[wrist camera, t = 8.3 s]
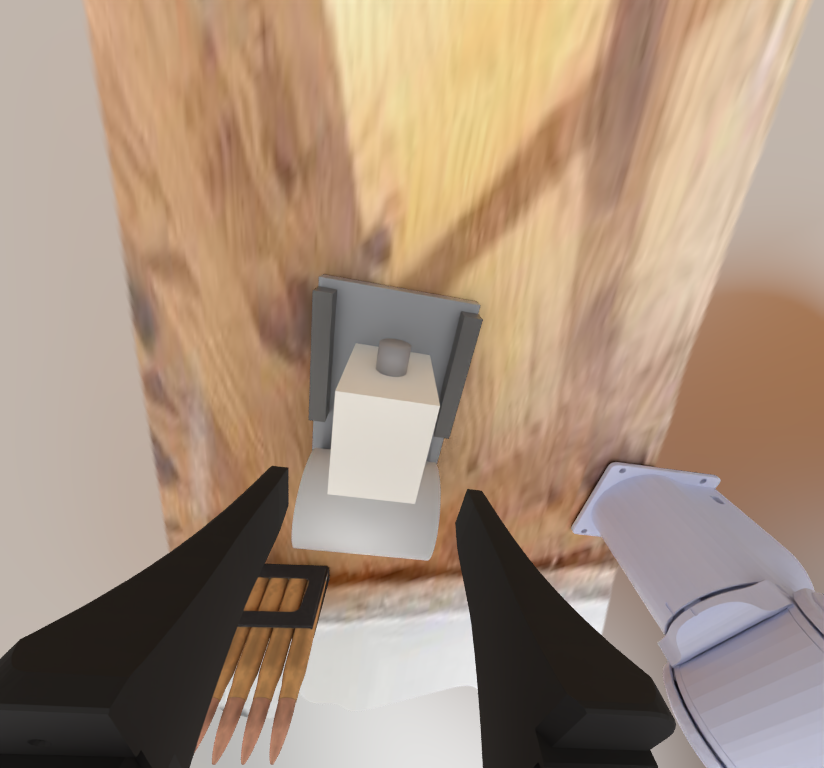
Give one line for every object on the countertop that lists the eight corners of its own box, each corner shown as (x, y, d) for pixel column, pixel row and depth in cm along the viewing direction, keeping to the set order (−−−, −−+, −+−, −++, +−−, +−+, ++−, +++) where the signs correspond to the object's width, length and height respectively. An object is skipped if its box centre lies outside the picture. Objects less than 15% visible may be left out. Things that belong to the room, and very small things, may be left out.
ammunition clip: (329, 565, 29) (285, 759, 19) (329, 577, 30) (288, 769, 19) (213, 561, 29) (100, 760, 18) (217, 574, 30) (111, 770, 19)
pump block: (434, 333, 18) (447, 377, 13) (412, 434, 21) (415, 504, 16) (358, 320, 18) (337, 360, 12) (347, 425, 21) (327, 494, 15)
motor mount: (476, 301, 18) (514, 339, 12) (424, 495, 25) (431, 582, 19) (323, 274, 17) (277, 299, 11) (314, 482, 24) (283, 569, 18)
